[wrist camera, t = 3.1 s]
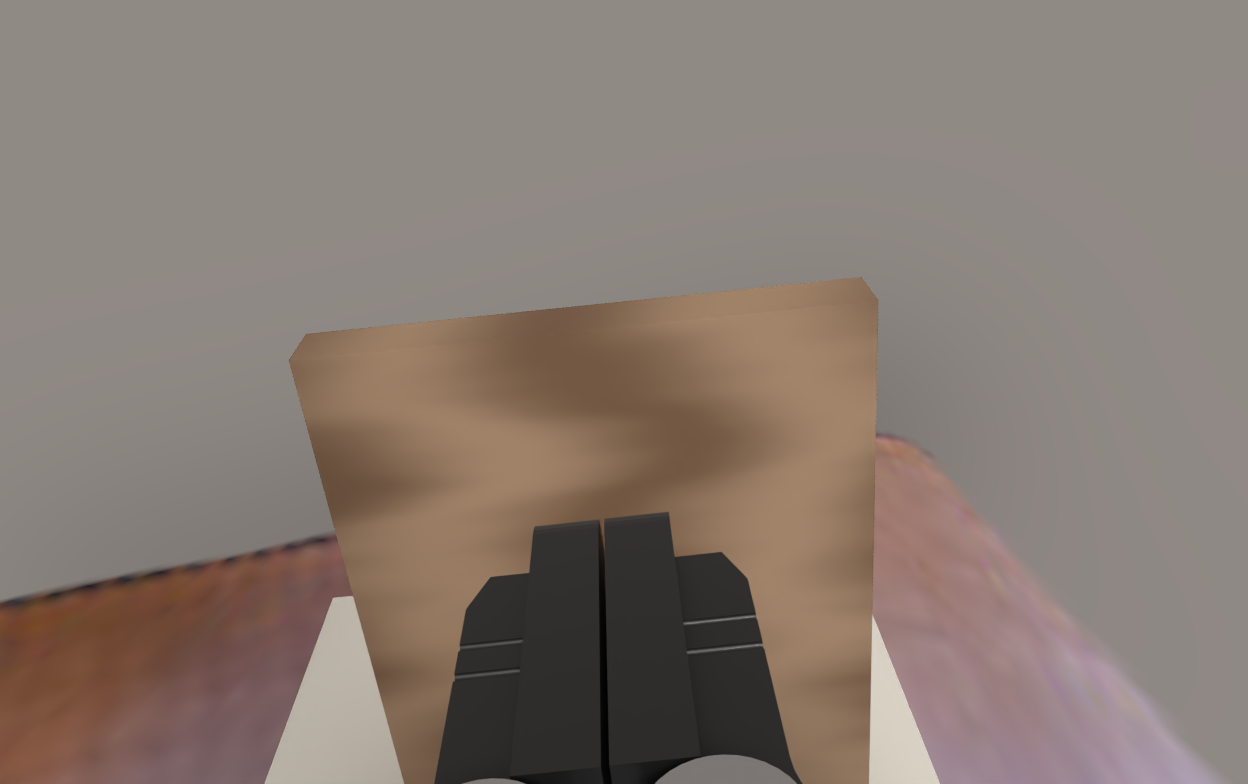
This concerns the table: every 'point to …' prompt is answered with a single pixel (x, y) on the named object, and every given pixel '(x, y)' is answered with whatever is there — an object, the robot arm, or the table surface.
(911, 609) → the table surface
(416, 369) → the brown flat streaked slab
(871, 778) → the plate
